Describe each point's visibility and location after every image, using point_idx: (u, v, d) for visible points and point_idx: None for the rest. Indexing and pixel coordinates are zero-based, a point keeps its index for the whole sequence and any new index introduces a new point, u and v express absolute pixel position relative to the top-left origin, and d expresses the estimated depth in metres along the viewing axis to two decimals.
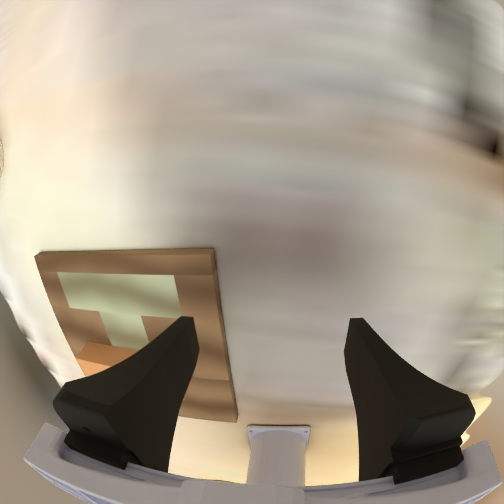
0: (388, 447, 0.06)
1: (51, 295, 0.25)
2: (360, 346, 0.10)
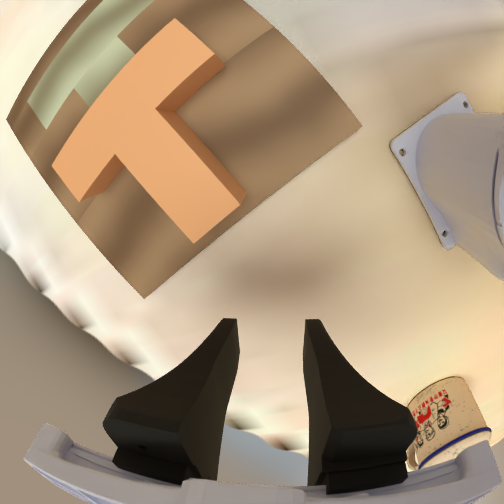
0: (320, 455, 0.06)
1: (27, 142, 0.17)
2: (310, 348, 0.10)
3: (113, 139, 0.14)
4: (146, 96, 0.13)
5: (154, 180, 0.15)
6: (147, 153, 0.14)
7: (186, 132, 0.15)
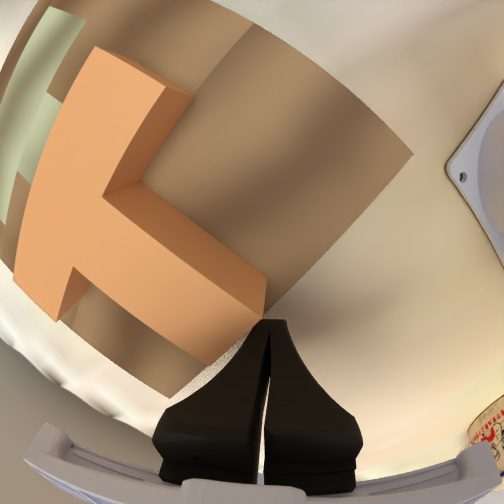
0: (265, 455, 0.06)
1: None
2: (270, 348, 0.10)
3: (64, 246, 0.10)
4: (85, 180, 0.08)
5: (133, 298, 0.10)
6: (112, 263, 0.10)
7: (160, 215, 0.10)
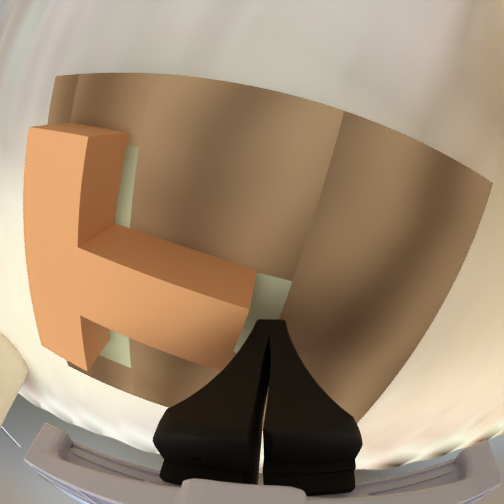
0: (264, 455, 0.06)
1: (116, 382, 0.17)
2: (269, 348, 0.10)
3: (67, 300, 0.11)
4: (61, 238, 0.09)
5: (135, 327, 0.11)
6: (107, 301, 0.10)
7: (135, 246, 0.11)
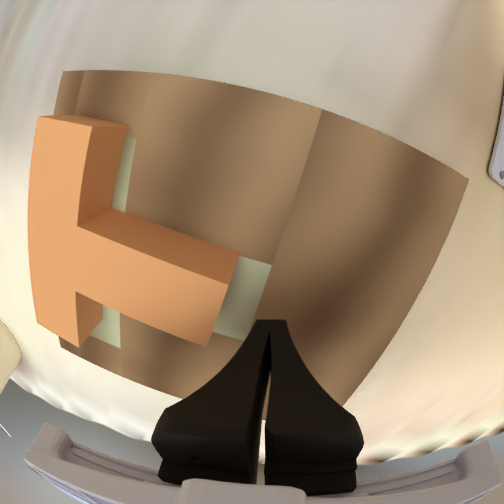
0: (265, 455, 0.06)
1: (106, 363, 0.18)
2: None
3: (64, 276, 0.12)
4: (62, 217, 0.10)
5: (125, 301, 0.12)
6: (101, 276, 0.11)
7: (129, 227, 0.12)
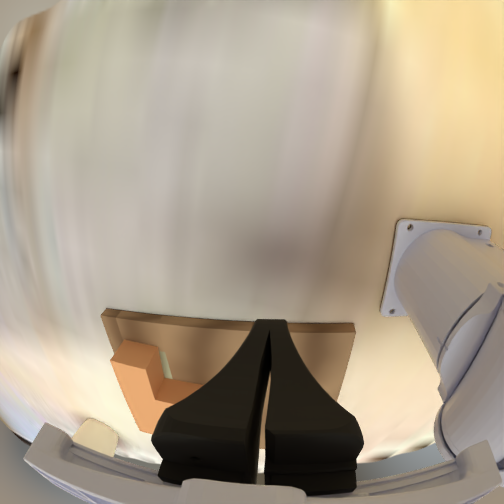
0: (265, 455, 0.06)
1: None
2: None
3: (154, 415, 0.24)
4: (145, 396, 0.22)
5: None
6: None
7: (178, 391, 0.24)
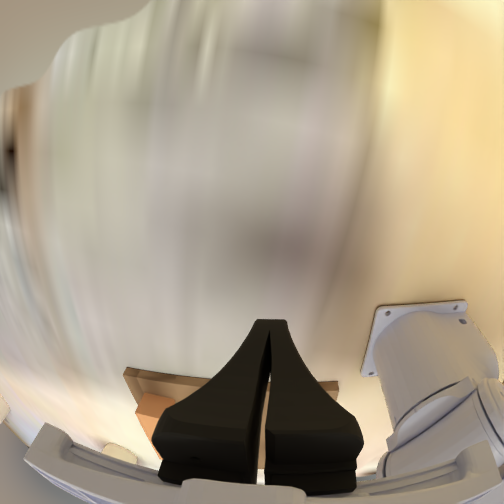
0: (265, 455, 0.06)
1: None
2: None
3: None
4: None
5: None
6: None
7: None
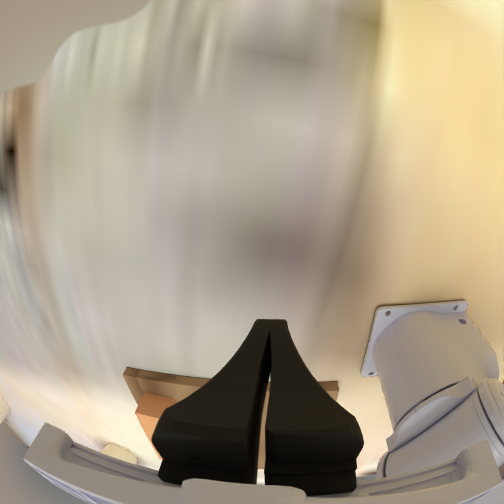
0: (265, 455, 0.06)
1: None
2: None
3: None
4: None
5: None
6: None
7: None
